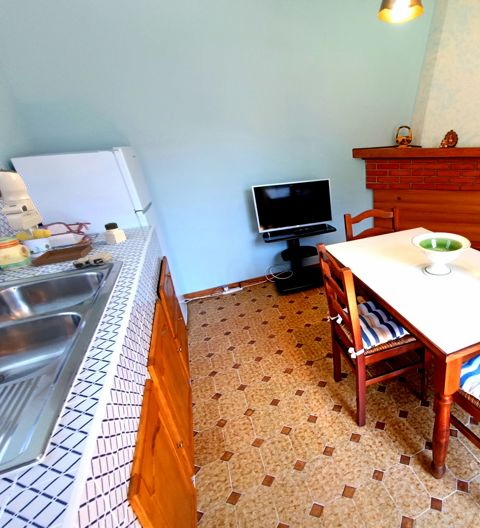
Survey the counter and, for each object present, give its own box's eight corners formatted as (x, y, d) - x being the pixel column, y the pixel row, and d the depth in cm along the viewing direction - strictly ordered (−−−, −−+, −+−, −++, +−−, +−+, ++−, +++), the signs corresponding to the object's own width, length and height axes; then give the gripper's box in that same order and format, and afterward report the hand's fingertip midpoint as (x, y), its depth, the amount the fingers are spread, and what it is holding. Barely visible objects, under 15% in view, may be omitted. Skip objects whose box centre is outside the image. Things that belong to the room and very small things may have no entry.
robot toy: (72, 274, 139) (110, 264, 144) (67, 265, 137) (106, 256, 143) (79, 265, 149) (115, 257, 154) (75, 257, 147) (111, 249, 153)
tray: (34, 266, 148) (31, 261, 147) (49, 255, 164) (47, 250, 163) (82, 259, 156) (80, 253, 155) (92, 249, 172) (90, 244, 171)
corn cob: (16, 242, 136) (12, 234, 135) (21, 240, 140) (17, 232, 138) (50, 238, 141) (47, 229, 140) (54, 236, 145) (50, 228, 143)
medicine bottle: (127, 240, 185) (120, 221, 180) (117, 244, 179) (110, 224, 174) (117, 240, 186) (110, 221, 181) (107, 244, 180) (99, 225, 175)
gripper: (22, 204, 142) (35, 232, 147) (-2, 211, 125) (14, 242, 130) (39, 202, 145) (51, 230, 150) (19, 209, 128) (33, 240, 133)
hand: (34, 235), depth 140 cm, fingers closed on corn cob, 4 cm apart
